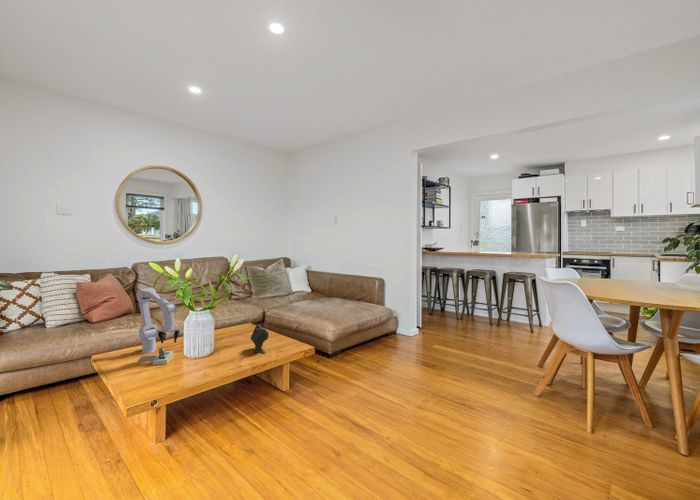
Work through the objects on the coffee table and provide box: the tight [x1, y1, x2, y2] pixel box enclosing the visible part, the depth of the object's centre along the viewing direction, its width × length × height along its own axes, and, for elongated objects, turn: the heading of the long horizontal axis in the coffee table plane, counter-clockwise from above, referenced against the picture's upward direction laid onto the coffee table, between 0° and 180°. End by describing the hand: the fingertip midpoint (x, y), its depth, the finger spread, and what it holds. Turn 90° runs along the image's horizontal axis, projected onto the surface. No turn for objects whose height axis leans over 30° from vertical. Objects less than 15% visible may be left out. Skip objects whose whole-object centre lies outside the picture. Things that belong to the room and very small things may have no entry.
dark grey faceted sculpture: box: [250, 324, 270, 355], centre depth 239 cm, size 14×15×18 cm
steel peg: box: [158, 347, 165, 359], centre depth 211 cm, size 3×3×9 cm
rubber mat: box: [136, 354, 158, 363], centre depth 216 cm, size 10×10×1 cm
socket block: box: [152, 350, 174, 366], centre depth 215 cm, size 16×8×3 cm, turn 15°
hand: (168, 342), depth 220 cm, fingers open, 7 cm apart
